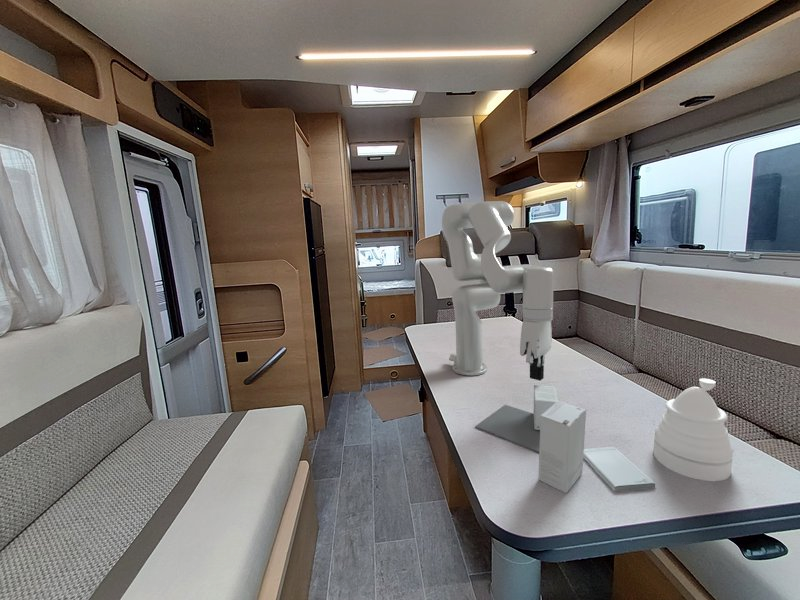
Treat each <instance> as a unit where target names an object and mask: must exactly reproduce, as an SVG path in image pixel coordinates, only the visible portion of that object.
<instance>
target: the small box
mask: <svg viewBox="0 0 800 600" xmlns="http://www.w3.org/2000/svg"><path fill="white" fill-rule="evenodd" d="M557 401H559V398H558V393H557V389H556V386H551V385H536V384H535V385H533V414H534V429H535V430H540V421H541V415H542V414H543V413H544V412H545V411H547V410H548V409H549V408H550V407H551V406H552V405H554V404H555V403H556V402H557Z"/></svg>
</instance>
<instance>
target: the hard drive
mask: <svg viewBox="0 0 800 600" xmlns="http://www.w3.org/2000/svg"><path fill="white" fill-rule="evenodd" d="M583 460H585V461H586V462H587V463H588V465H590V466H591V467H592V468H593V469H594V471H595V472H596V473H597V475H599V476H600V477H601V478H602V480H603V481H604V482H605V483H606V484H607V485H608V486H609V487H610V488H611V489H612V491H613V492H623V491H636V490H646V489H656V482H654V481H653V480H652V479H651V478H650V477H648V476H647V475H646V474H645V473H644V472H643V471H642V470H641V469H639V467H637V466H636V465H635V464H634V463H633V462H632V461H631V460H629V458H627V457H626V456H625V455H624V454H623V453H622V452H621V451H619V450H618V449H617V448H616V447H614V446H606V447H605V446H603V447H591V448H584V454H583Z"/></svg>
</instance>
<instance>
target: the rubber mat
mask: <svg viewBox="0 0 800 600" xmlns="http://www.w3.org/2000/svg"><path fill="white" fill-rule="evenodd" d="M474 428H476V429H478V430H481V431H483V432H485V433H488V434H491V435H494V436H496V437H497V438H501V439H503V440H504V441H508V442H510V443H514V444H515V445H518V446H521V447H523V448H525V449H528V450H530V451H533V452H536V453H538V454H539V448H540V430H535V429H534V412H533V413H532V412H530V411H526V410H523V409H520V408H518V407H514V406H511V405H508V404H504V405H502V406H501V407H499V409H497V410H496V411H494V412H492V414H490V415H489V416H487V417H486V418H484V419H483V420H482V421H480V422H478V423H477V424H476V425H474Z"/></svg>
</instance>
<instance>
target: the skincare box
mask: <svg viewBox="0 0 800 600" xmlns="http://www.w3.org/2000/svg"><path fill="white" fill-rule="evenodd" d="M586 419H587V410H586V409H585V408H583V407H579V406H577V405H572V404H570V403H568V402H567V403H566V402H564V401H561V400H558V401H557V402H556V403H555V404H554V405H552V406H551V407H550V408H549V409H548V410H547V411H545V412H544V413H543V414H542V415H541V421H540V448H539V453H538V454H539V455H538V480H539V481H540V482H542V483H544V484H546V485H549V486H551V487H553V488H555V489H556V490H558V491H560V492H562V493H564V494H568V492H569V491H570V490H571V488H572V487H573V485H574V484H575V483H576V482H577V481H578V479H579V478H580V476H582V474H583V471H584V469H583V468H584V458H583V454H584V449H585V435H586Z"/></svg>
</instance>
